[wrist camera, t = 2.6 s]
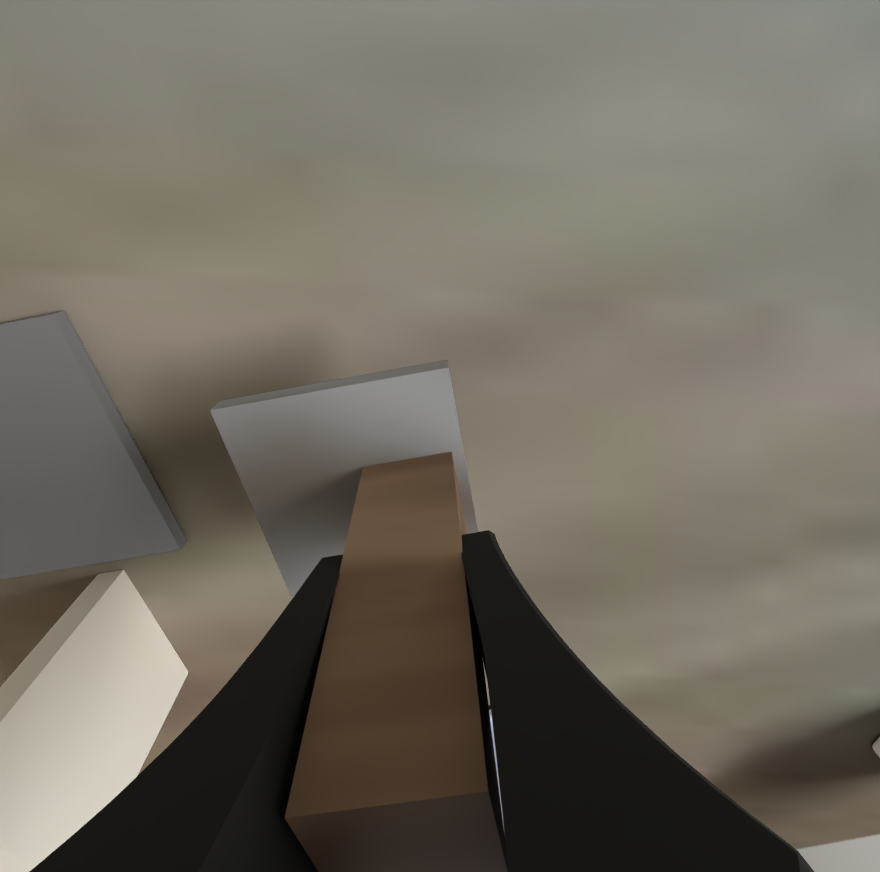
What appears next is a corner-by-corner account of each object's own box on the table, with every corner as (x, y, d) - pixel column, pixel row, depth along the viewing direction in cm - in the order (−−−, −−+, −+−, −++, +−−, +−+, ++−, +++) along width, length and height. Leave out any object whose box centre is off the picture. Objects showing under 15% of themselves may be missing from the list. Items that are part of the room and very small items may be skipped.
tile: (188, 672, 24) (72, 906, 16) (162, 676, 24) (34, 911, 16) (123, 569, 21) (-60, 796, 13) (94, 574, 21) (-107, 802, 13)
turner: (484, 567, 15) (545, 947, 8) (301, 596, 16) (183, 990, 8) (447, 359, 12) (489, 651, 4) (219, 400, 12) (-115, 740, 5)
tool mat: (186, 540, 21) (180, 549, 20) (-29, 577, 21) (-41, 586, 21) (64, 310, 16) (51, 314, 16) (-206, 363, 17) (-227, 369, 16)
